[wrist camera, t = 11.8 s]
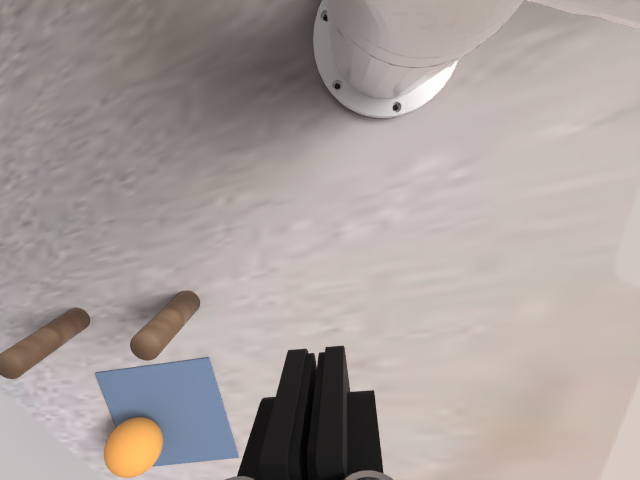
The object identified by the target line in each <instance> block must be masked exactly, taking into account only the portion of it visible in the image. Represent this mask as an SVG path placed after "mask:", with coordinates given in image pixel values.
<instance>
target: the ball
mask: <svg viewBox="0 0 640 480" xmlns="http://www.w3.org/2000/svg"><path fill="white" fill-rule="evenodd" d="M162 446H163V435H162V432H161V429H160V428H159V426H158V425H157V424H156V423H155V422H154V421H152V420H151V419H148V418H144V417H137V418H132V419H129V420H126V421H125V422H123V423H121V424H120V425H119V426H117V427H116V428H115V429H114V430H113V432H112V433H111V434H110V436H109V438H108V440H107V442H106V445H105V449H104V459H105V463H106V465H107V467H108V469H109V470H110V471H111V472H112V473H113V474H115V475H117V476H119V477H123V478H130V477H135V476H138V475H140V474H143V473H144V472H146V471H147V470H148V469H150V468H151V467H152V466H153V465H154V463H155V462H156V461H157V459H158V457H159V456H160V453H161V451H162Z"/></svg>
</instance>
